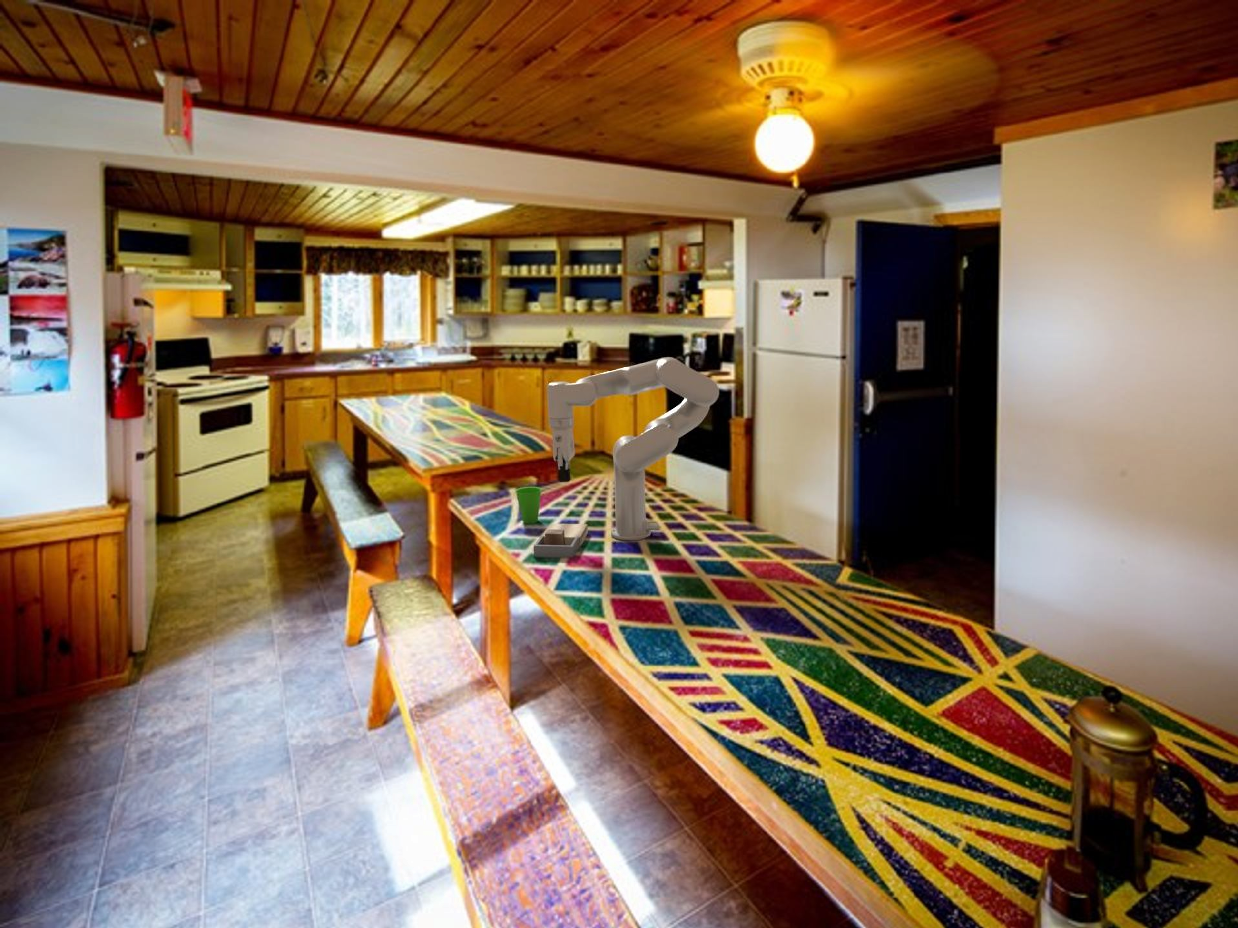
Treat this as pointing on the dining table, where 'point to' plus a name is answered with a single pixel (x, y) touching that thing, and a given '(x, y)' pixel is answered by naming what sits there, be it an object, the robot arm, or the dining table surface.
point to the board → (570, 532)
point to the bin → (555, 549)
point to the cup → (529, 503)
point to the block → (554, 537)
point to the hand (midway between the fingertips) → (564, 481)
